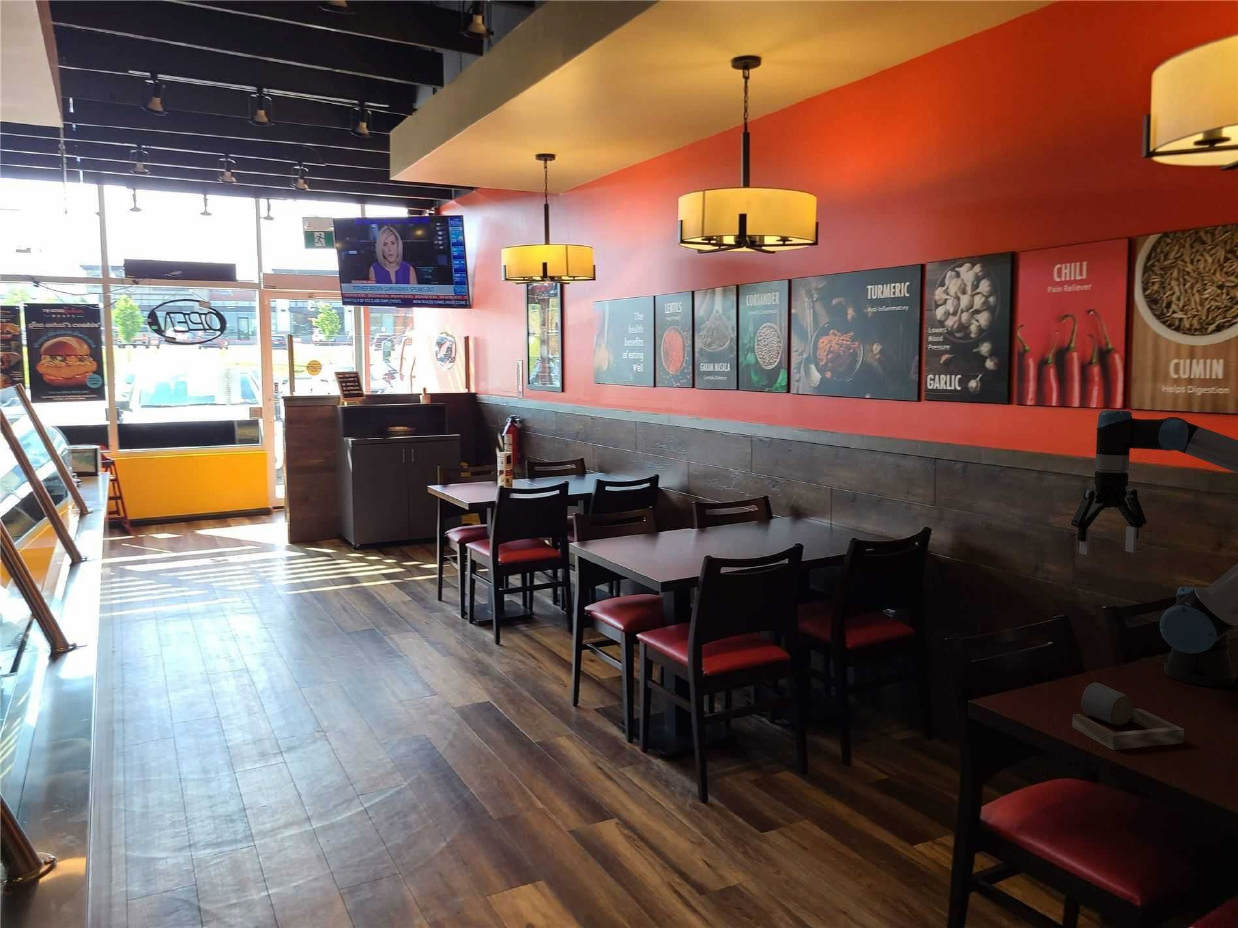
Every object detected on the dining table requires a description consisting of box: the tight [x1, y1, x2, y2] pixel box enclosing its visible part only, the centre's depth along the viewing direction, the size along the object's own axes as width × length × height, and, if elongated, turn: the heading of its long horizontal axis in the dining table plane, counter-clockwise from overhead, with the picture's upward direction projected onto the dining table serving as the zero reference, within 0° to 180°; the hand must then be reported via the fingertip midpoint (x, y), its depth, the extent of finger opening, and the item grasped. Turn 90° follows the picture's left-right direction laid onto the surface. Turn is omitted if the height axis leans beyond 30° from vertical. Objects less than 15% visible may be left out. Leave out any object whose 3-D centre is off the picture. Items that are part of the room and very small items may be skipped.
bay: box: [1071, 707, 1185, 751], centre depth 188 cm, size 17×12×3 cm
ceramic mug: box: [1080, 682, 1134, 726], centre depth 196 cm, size 11×8×8 cm
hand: (1107, 553), depth 225 cm, fingers open, 13 cm apart
